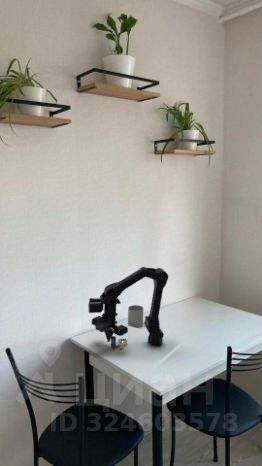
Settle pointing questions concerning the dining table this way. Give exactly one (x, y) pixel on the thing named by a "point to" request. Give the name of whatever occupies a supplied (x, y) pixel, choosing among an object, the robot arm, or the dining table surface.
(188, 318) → the dining table surface
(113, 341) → the crank
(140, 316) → the cup
